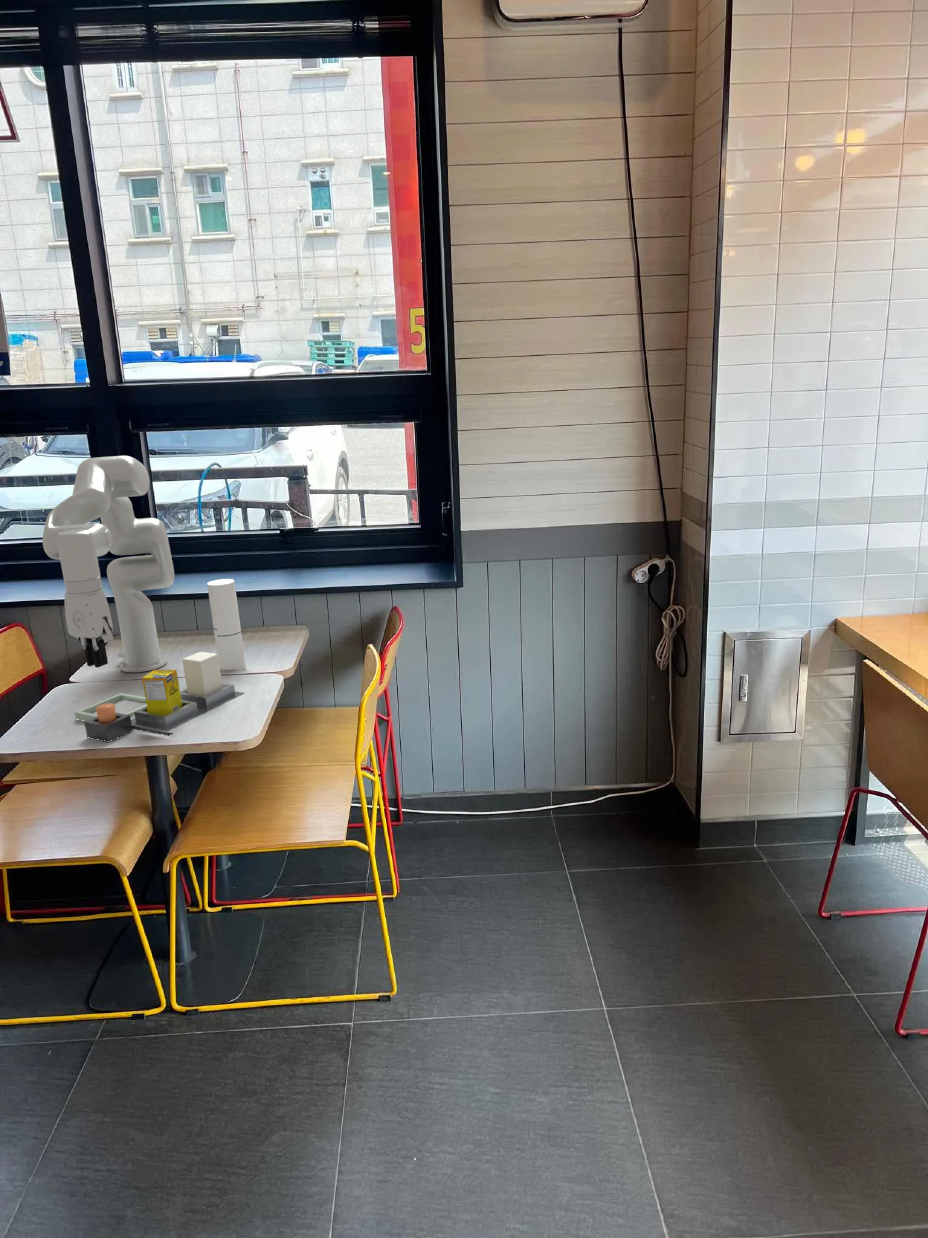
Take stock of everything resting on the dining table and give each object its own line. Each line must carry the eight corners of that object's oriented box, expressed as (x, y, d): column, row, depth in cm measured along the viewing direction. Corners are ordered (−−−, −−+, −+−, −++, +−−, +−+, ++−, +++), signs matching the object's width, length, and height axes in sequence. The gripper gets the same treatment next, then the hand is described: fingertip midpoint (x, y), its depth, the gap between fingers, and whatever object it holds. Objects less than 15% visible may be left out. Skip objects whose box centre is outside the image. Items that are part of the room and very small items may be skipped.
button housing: (87, 738, 206) (84, 722, 205) (111, 727, 212) (109, 711, 211) (108, 742, 203) (105, 726, 201) (132, 731, 208) (130, 715, 207)
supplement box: (183, 712, 215) (177, 668, 212) (172, 721, 210) (165, 677, 207) (160, 712, 216) (153, 669, 213) (148, 721, 211) (141, 677, 208)
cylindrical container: (237, 663, 253) (225, 577, 247) (250, 668, 248) (239, 581, 242) (214, 670, 249) (202, 583, 242) (227, 675, 244) (215, 586, 237)
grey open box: (125, 727, 211) (123, 712, 210) (204, 690, 233) (202, 677, 232) (168, 736, 204) (166, 720, 203) (245, 697, 226) (244, 683, 225)
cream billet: (188, 701, 223) (182, 658, 220) (205, 692, 228) (200, 651, 225) (206, 704, 220) (200, 661, 217) (223, 695, 225) (217, 654, 222)
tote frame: (76, 720, 218) (74, 712, 217) (121, 700, 229) (120, 693, 229) (116, 728, 211) (114, 720, 210) (161, 707, 223) (160, 699, 222)
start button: (95, 725, 206) (92, 708, 205) (109, 719, 209) (106, 702, 208) (107, 727, 204) (104, 710, 203) (121, 721, 207) (118, 704, 206)
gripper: (45, 587, 198) (60, 666, 203) (94, 592, 191) (108, 674, 196) (74, 580, 204) (87, 656, 209) (122, 584, 197) (135, 663, 202)
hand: (97, 664), depth 203 cm, fingers closed
